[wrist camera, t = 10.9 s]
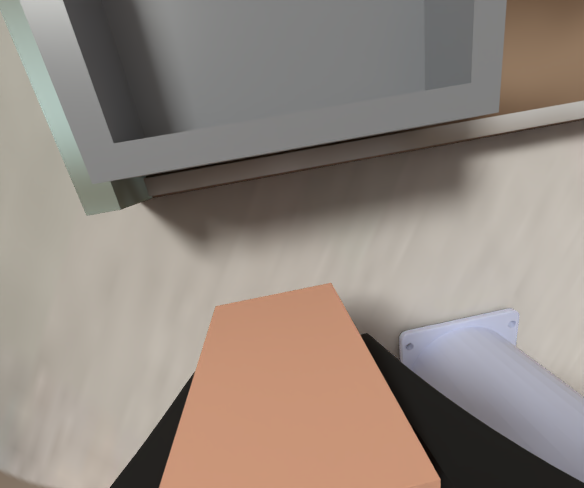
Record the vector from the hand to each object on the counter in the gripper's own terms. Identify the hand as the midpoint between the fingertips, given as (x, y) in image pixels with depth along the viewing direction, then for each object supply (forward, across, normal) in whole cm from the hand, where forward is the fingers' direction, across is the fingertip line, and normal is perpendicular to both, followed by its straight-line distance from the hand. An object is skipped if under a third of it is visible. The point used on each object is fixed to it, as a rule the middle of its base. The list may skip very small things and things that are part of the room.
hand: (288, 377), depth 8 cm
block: (+2, 0, 0) cm, 2 cm away
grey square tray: (+7, -2, -12) cm, 14 cm away
